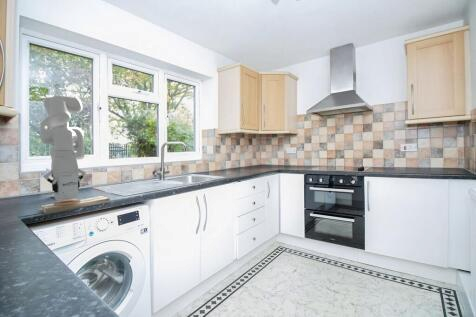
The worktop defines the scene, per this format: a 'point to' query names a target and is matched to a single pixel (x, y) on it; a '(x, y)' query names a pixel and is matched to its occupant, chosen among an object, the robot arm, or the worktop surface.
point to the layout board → (73, 204)
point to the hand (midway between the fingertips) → (66, 190)
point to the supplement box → (67, 186)
